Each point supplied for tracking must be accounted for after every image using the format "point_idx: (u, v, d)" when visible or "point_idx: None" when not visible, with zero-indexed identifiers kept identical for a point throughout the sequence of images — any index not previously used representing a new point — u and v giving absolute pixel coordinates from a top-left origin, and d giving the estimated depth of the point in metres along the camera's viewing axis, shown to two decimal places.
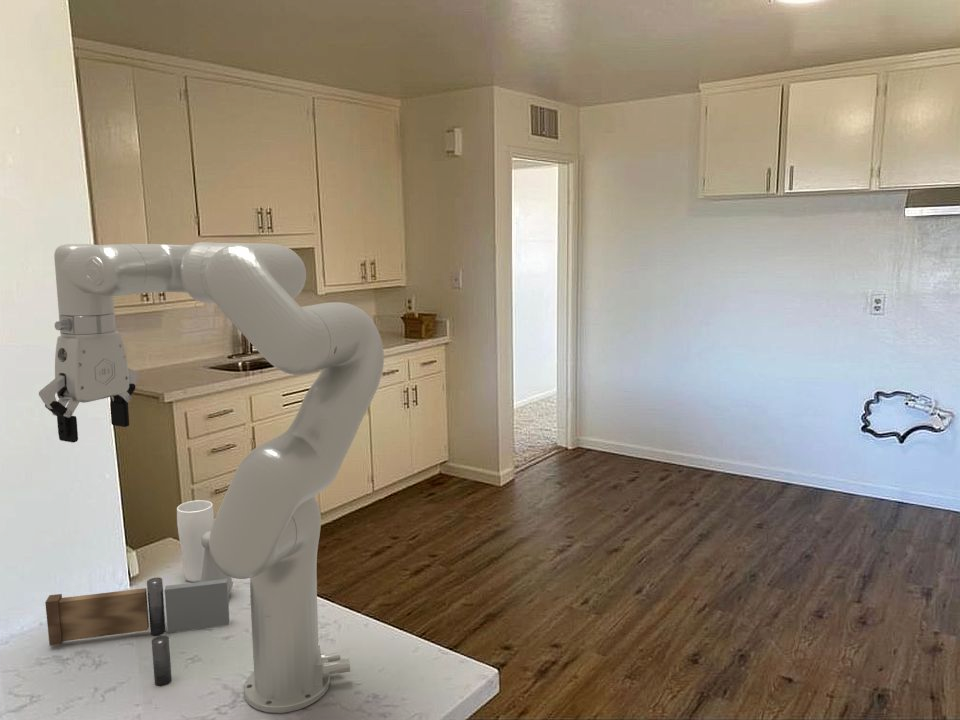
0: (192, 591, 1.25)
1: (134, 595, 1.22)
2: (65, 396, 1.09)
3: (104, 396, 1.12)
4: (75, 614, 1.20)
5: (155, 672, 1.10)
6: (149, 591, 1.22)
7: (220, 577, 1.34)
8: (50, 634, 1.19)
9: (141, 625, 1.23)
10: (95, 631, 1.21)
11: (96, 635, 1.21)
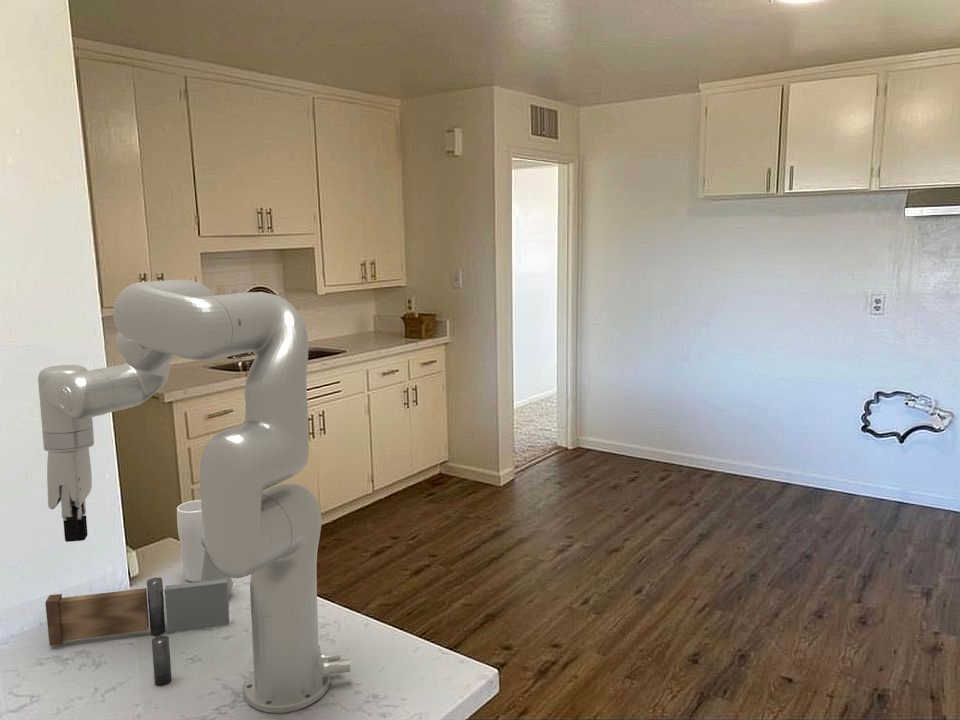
0: (192, 591, 1.25)
1: (134, 595, 1.22)
2: None
3: None
4: (75, 614, 1.20)
5: (155, 672, 1.10)
6: (149, 591, 1.22)
7: (220, 577, 1.34)
8: (50, 634, 1.19)
9: (141, 625, 1.23)
10: (95, 631, 1.21)
11: (96, 635, 1.21)
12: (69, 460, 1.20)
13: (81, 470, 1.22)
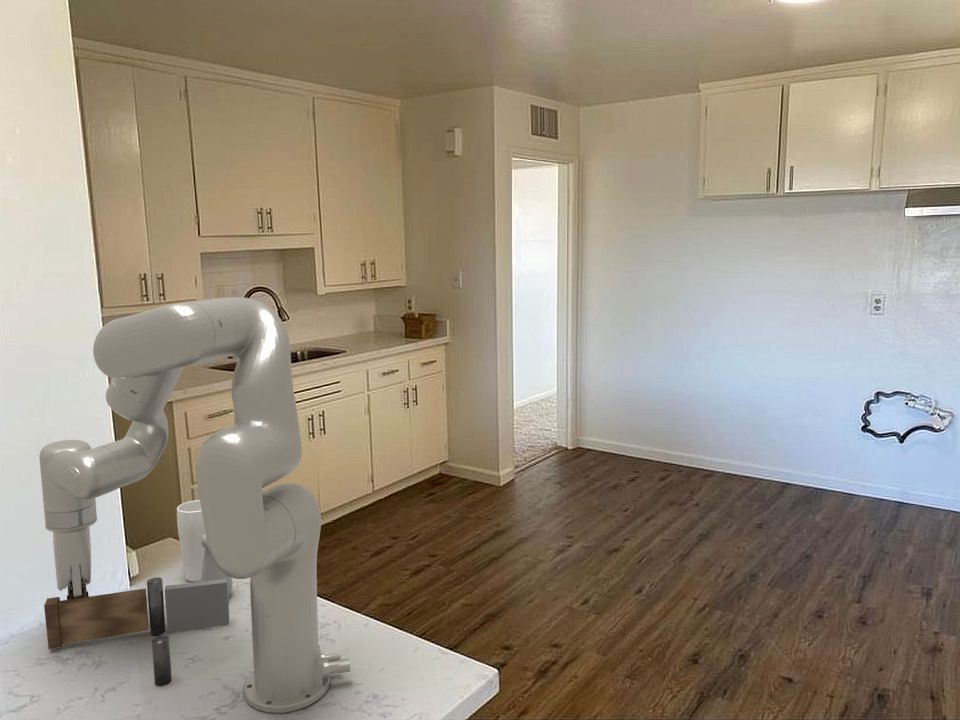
0: (192, 591, 1.25)
1: (134, 596, 1.22)
2: None
3: None
4: (74, 616, 1.19)
5: (155, 672, 1.10)
6: (149, 591, 1.22)
7: (220, 577, 1.34)
8: (49, 637, 1.18)
9: (141, 625, 1.23)
10: (95, 633, 1.21)
11: (96, 637, 1.21)
12: (79, 539, 1.18)
13: (89, 546, 1.20)
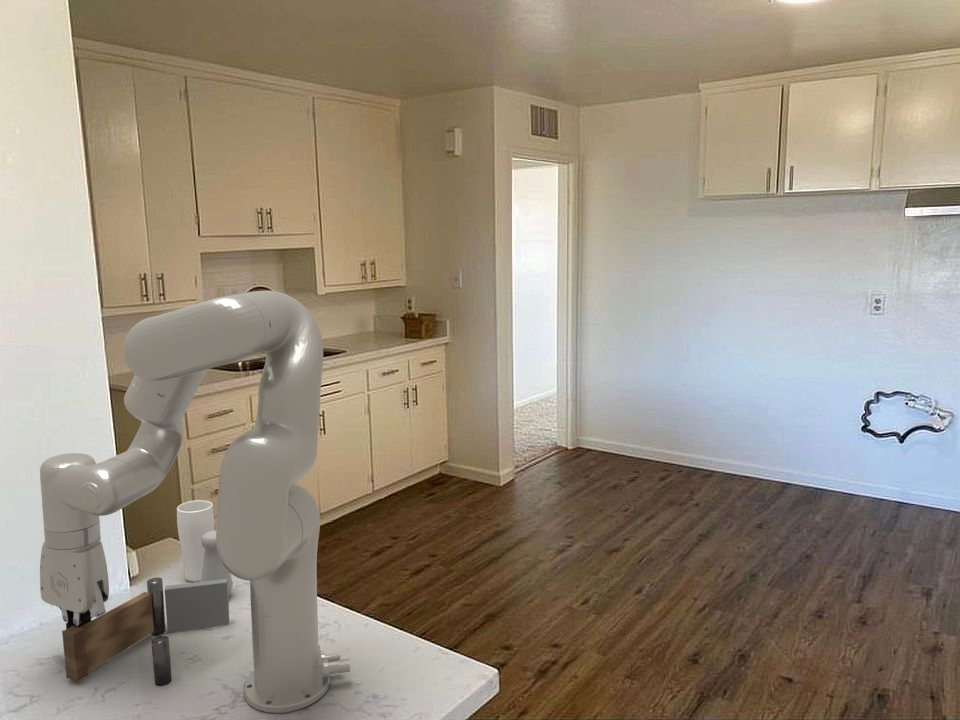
0: (192, 591, 1.25)
1: (143, 600, 1.20)
2: None
3: (59, 606, 1.11)
4: (96, 639, 1.13)
5: (155, 672, 1.10)
6: (149, 591, 1.22)
7: (220, 577, 1.34)
8: (78, 668, 1.10)
9: (149, 628, 1.22)
10: (113, 650, 1.16)
11: (114, 654, 1.16)
12: (100, 553, 1.11)
13: None
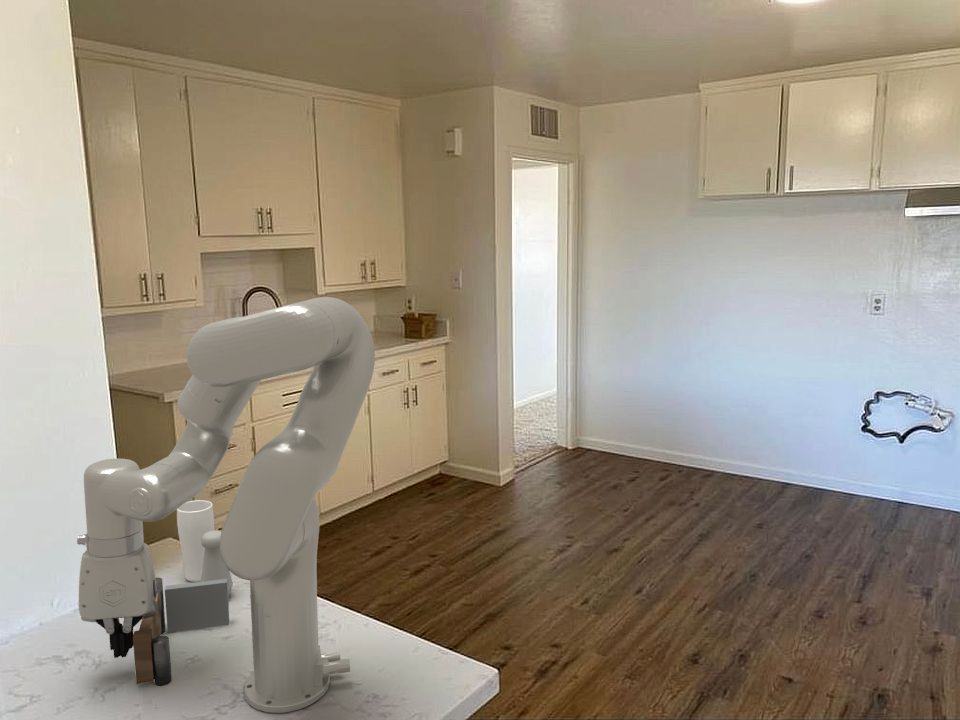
0: (192, 591, 1.25)
1: (157, 599, 1.21)
2: None
3: (112, 617, 1.08)
4: None
5: (155, 672, 1.10)
6: None
7: (220, 577, 1.34)
8: (153, 668, 1.10)
9: (160, 627, 1.23)
10: None
11: None
12: (150, 553, 1.12)
13: None
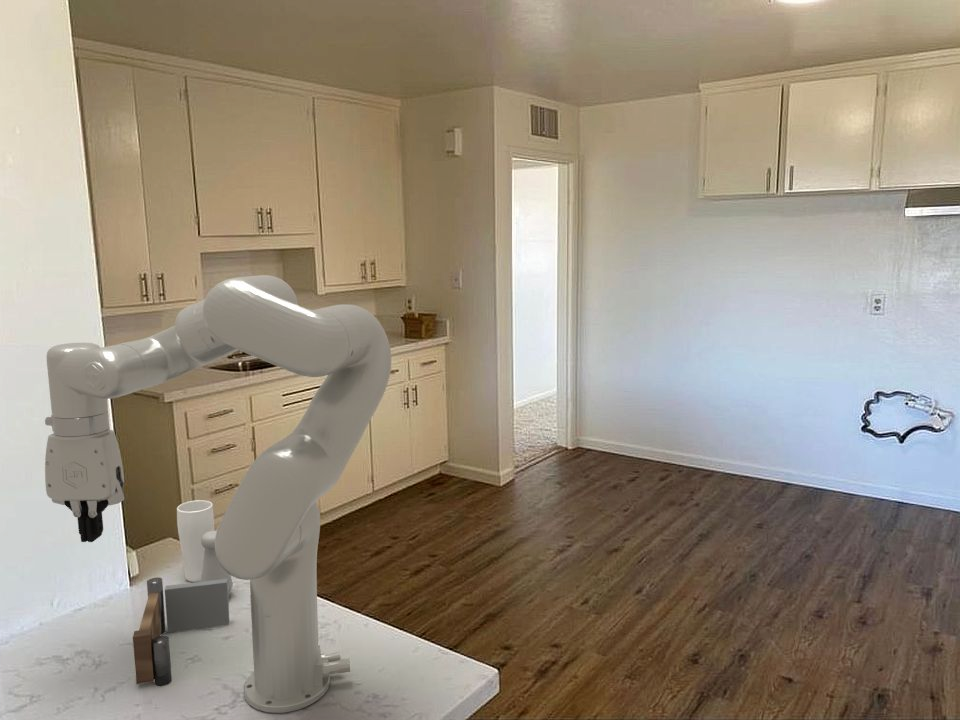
0: (192, 591, 1.25)
1: (157, 599, 1.21)
2: None
3: (75, 499, 1.09)
4: None
5: (155, 672, 1.10)
6: (149, 591, 1.22)
7: (220, 577, 1.34)
8: (153, 668, 1.10)
9: (160, 627, 1.23)
10: None
11: None
12: (115, 440, 1.11)
13: None
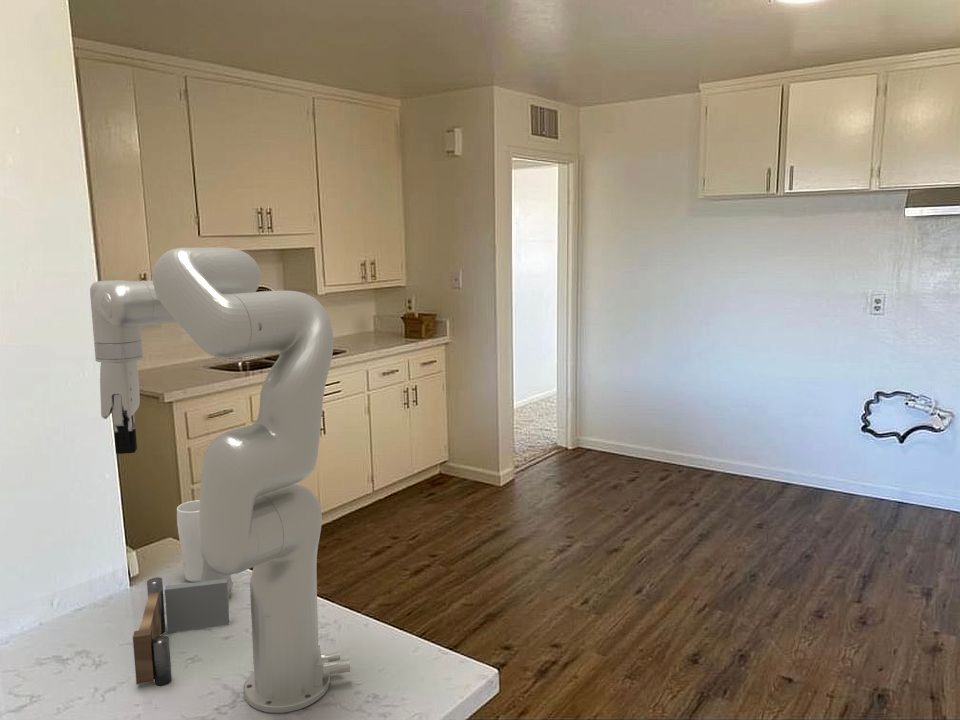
0: (192, 591, 1.25)
1: (157, 599, 1.21)
2: None
3: None
4: None
5: (155, 672, 1.10)
6: (149, 591, 1.22)
7: (220, 577, 1.34)
8: (153, 668, 1.10)
9: (160, 627, 1.23)
10: None
11: None
12: (121, 370, 1.23)
13: (132, 381, 1.26)
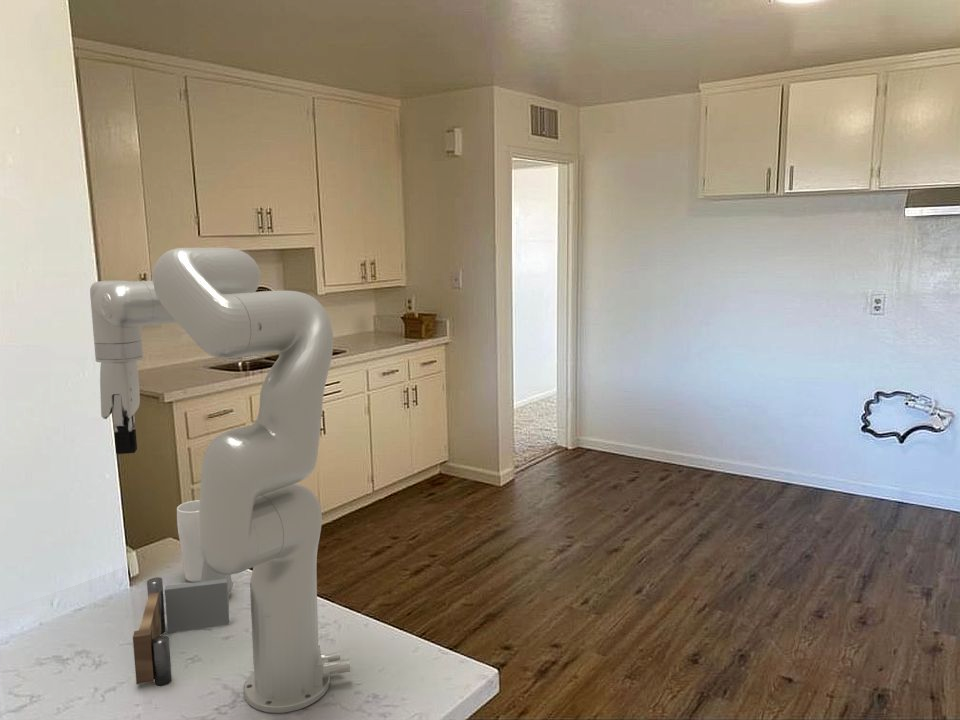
0: (192, 591, 1.25)
1: (157, 599, 1.21)
2: None
3: None
4: None
5: (155, 672, 1.10)
6: (149, 591, 1.22)
7: (220, 577, 1.34)
8: (153, 668, 1.10)
9: (160, 627, 1.23)
10: None
11: None
12: (121, 370, 1.23)
13: (132, 381, 1.26)
